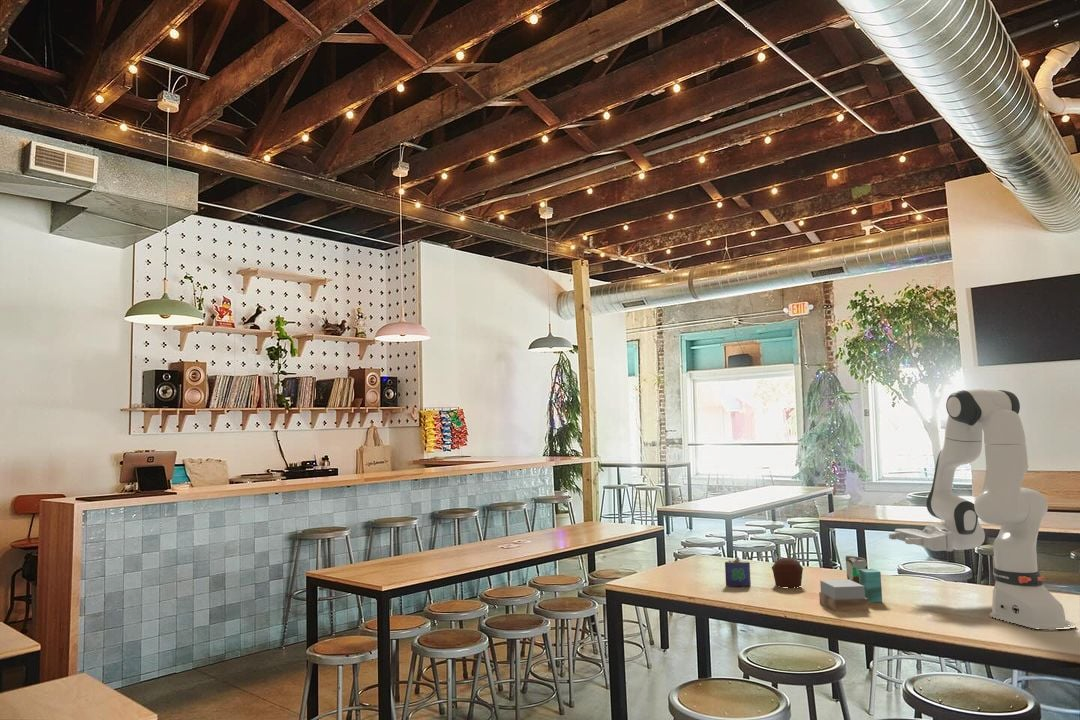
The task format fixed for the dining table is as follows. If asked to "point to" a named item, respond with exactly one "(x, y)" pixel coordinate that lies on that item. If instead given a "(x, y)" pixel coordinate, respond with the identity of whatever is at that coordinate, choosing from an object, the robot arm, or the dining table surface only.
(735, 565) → the flask
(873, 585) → the teal block
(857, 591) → the tower top
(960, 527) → the robot arm
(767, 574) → the dining table surface
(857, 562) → the food container
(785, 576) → the muffin
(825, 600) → the block
